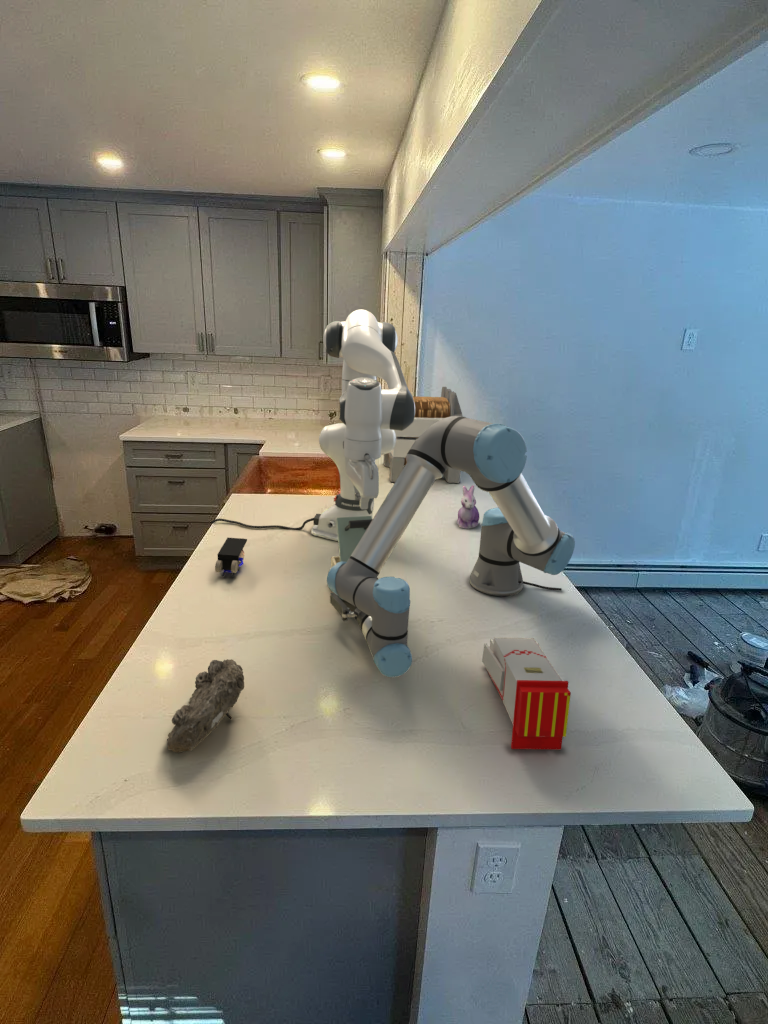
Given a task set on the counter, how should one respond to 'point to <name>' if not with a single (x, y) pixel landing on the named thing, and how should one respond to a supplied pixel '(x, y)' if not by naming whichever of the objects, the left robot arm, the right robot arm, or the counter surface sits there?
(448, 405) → the transformer
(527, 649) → the toy
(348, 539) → the lid
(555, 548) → the right robot arm
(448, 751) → the counter surface
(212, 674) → the fossil
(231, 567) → the figurine character
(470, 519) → the figurine
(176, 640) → the counter surface
